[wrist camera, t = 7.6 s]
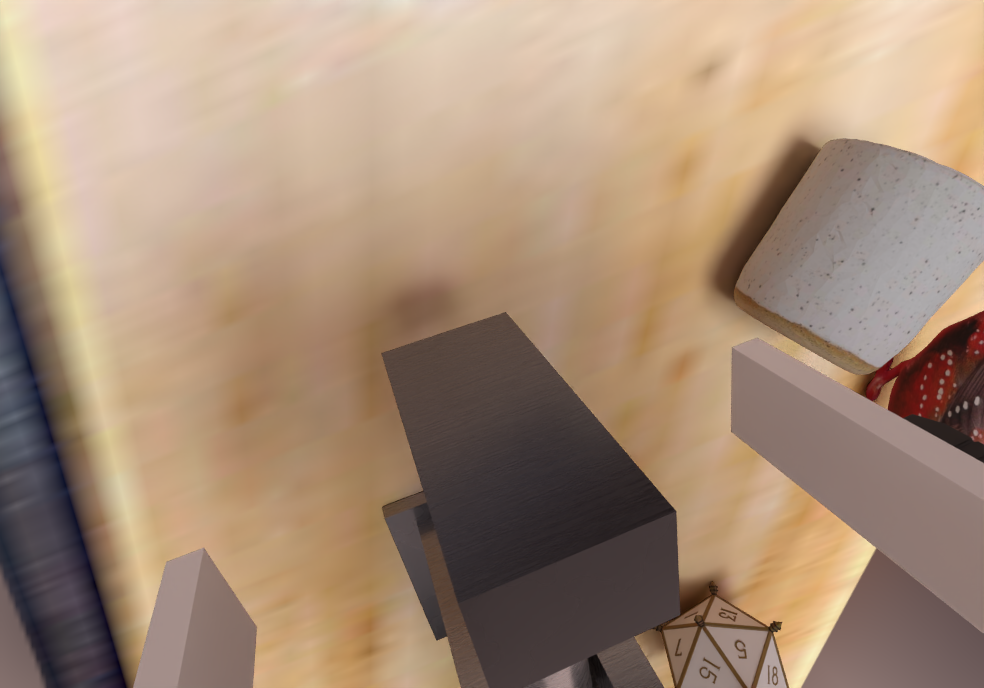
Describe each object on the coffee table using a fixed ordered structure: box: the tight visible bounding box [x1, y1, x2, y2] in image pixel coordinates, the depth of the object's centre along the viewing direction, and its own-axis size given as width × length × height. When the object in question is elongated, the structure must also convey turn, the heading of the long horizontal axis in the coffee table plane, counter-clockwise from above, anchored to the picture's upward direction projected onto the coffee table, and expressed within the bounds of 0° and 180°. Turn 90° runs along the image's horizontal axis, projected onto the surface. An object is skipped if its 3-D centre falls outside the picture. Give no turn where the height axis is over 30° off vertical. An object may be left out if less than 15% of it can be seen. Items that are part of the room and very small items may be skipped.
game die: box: [653, 581, 789, 688], centre depth 36 cm, size 9×8×10 cm
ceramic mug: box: [734, 139, 984, 374], centre depth 25 cm, size 11×8×8 cm
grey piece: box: [382, 312, 680, 688], centre depth 18 cm, size 19×4×9 cm, turn 12°
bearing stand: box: [383, 491, 664, 688], centre depth 24 cm, size 10×9×13 cm
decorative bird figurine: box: [866, 311, 984, 444], centre depth 29 cm, size 3×18×10 cm, turn 178°
